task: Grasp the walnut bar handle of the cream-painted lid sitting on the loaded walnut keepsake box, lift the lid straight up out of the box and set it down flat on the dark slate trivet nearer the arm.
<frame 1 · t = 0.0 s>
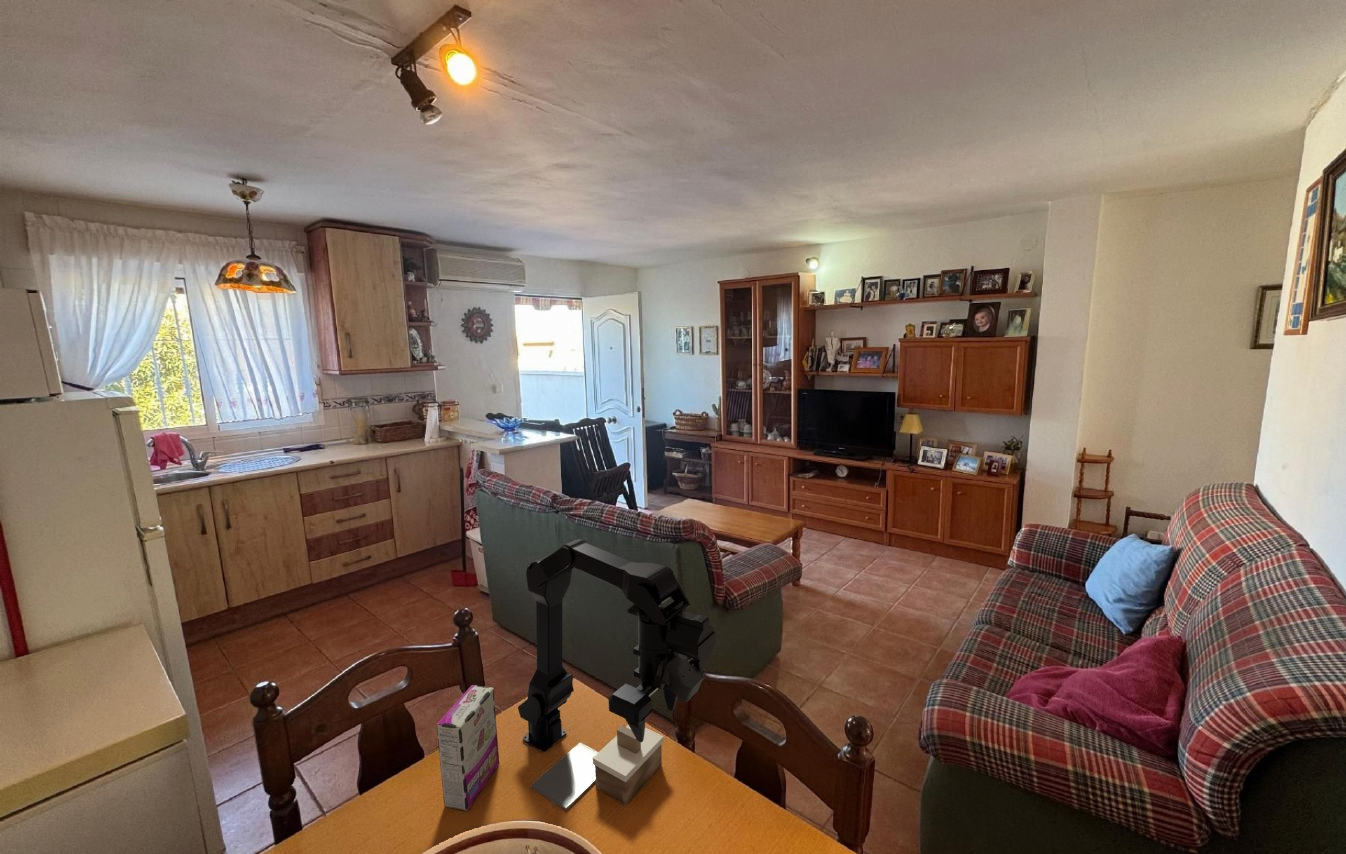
hand: (656, 725, 94), 15 cm above the table, fingers open, 9 cm apart
candy bar box: (472, 786, 99), on the table
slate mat: (573, 775, 101), on the table
keepsake box: (629, 776, 101), on the table
lid: (629, 752, 100), point 5 cm above the table, touching keepsake box
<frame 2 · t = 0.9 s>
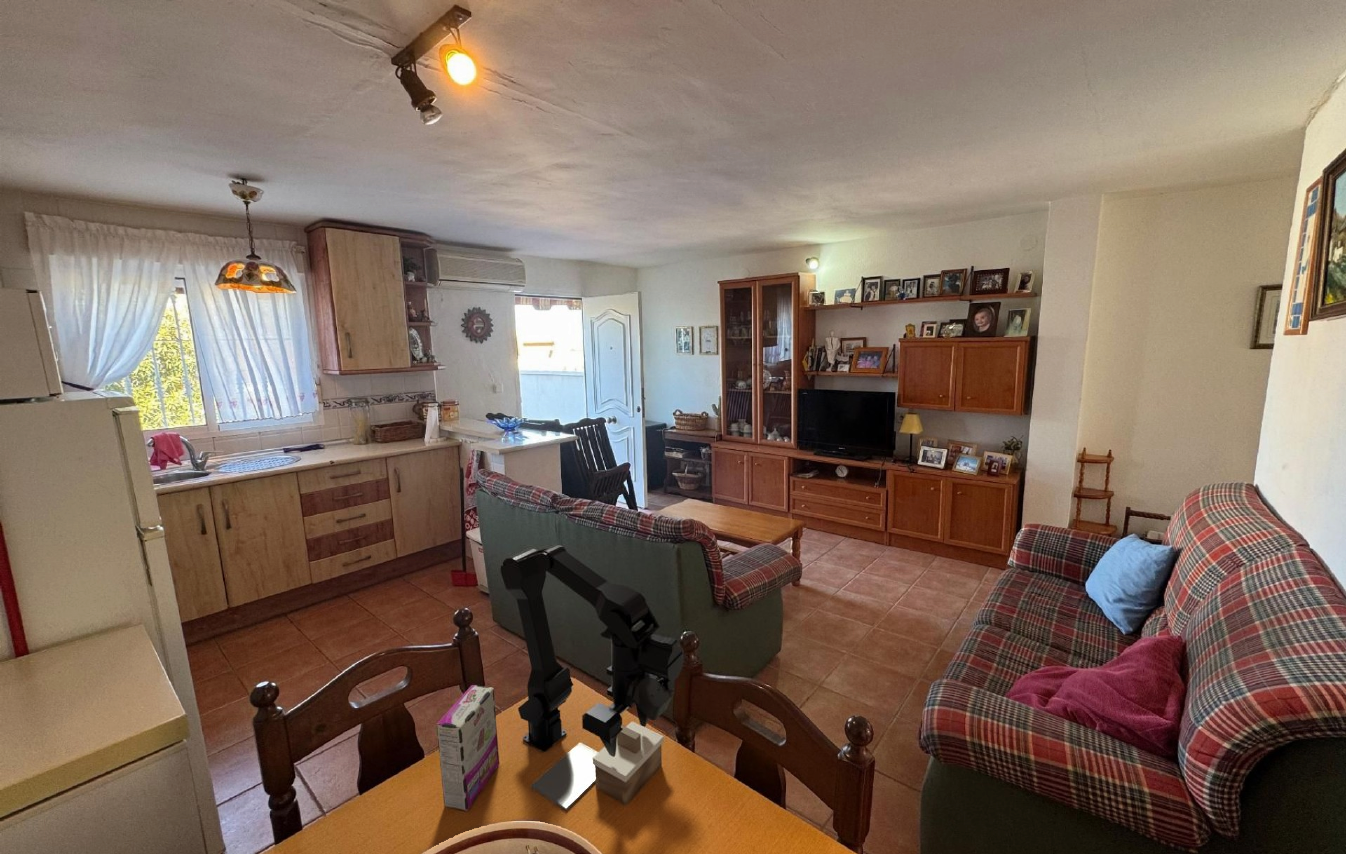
hand: (628, 740, 100), 8 cm above the table, fingers open, 9 cm apart
nothing on the table moved.
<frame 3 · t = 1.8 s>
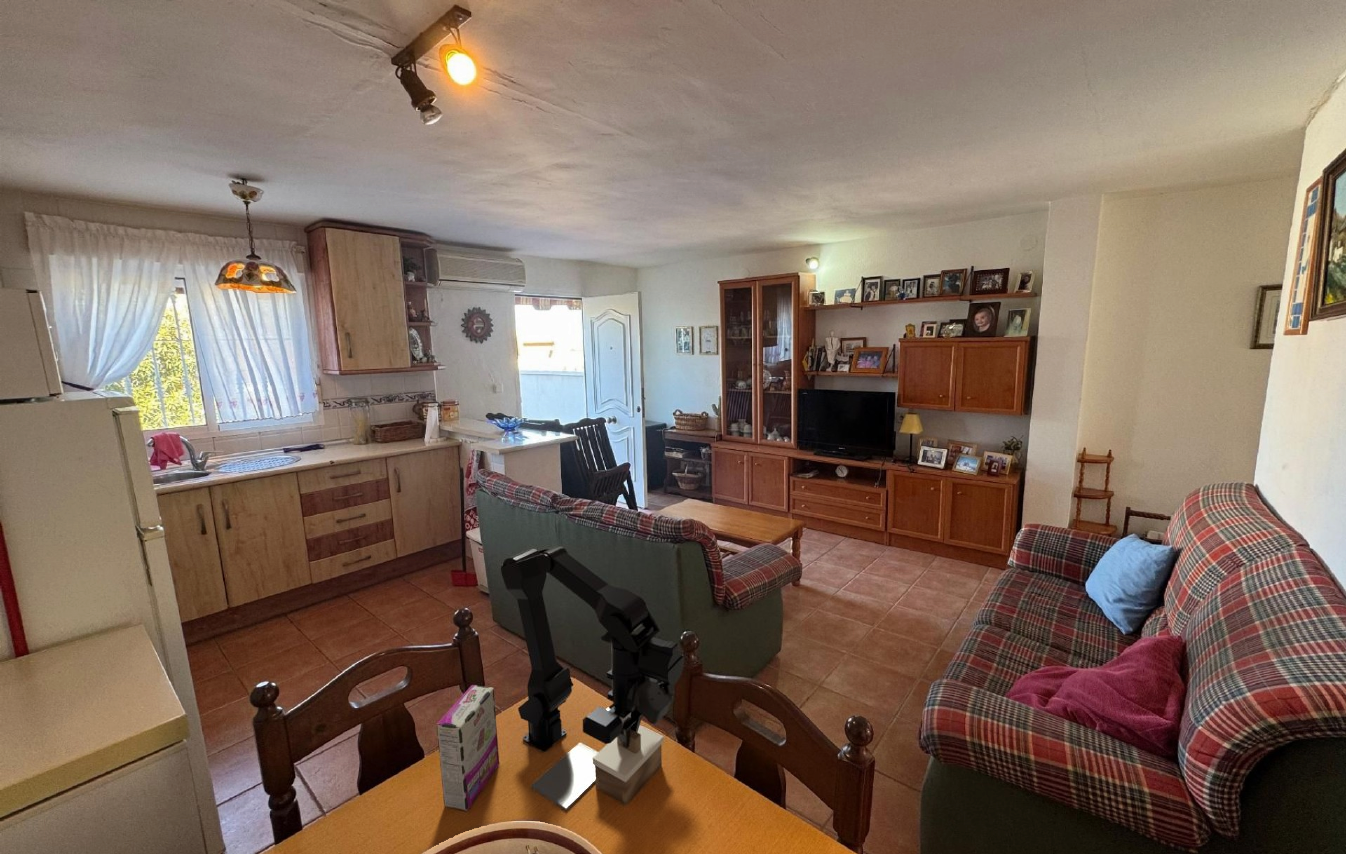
hand: (628, 743, 100), 7 cm above the table, fingers closed on lid
lid: (629, 752, 100), point 5 cm above the table, touching gripper, keepsake box
everything else where it was.
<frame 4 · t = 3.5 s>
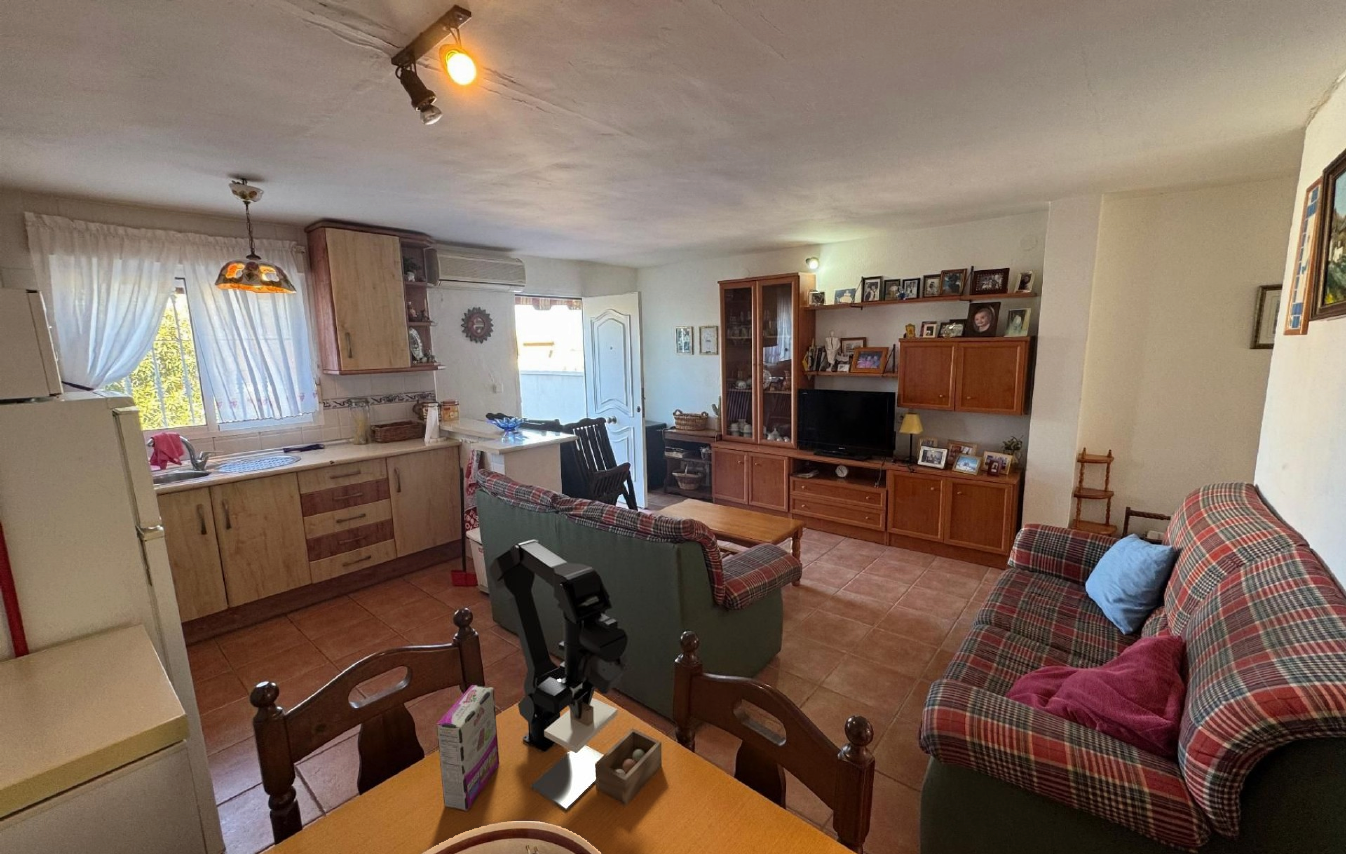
hand: (581, 715, 100), 12 cm above the table, fingers closed on lid
lid: (582, 725, 100), point 10 cm above the table, touching gripper
everything else where it was.
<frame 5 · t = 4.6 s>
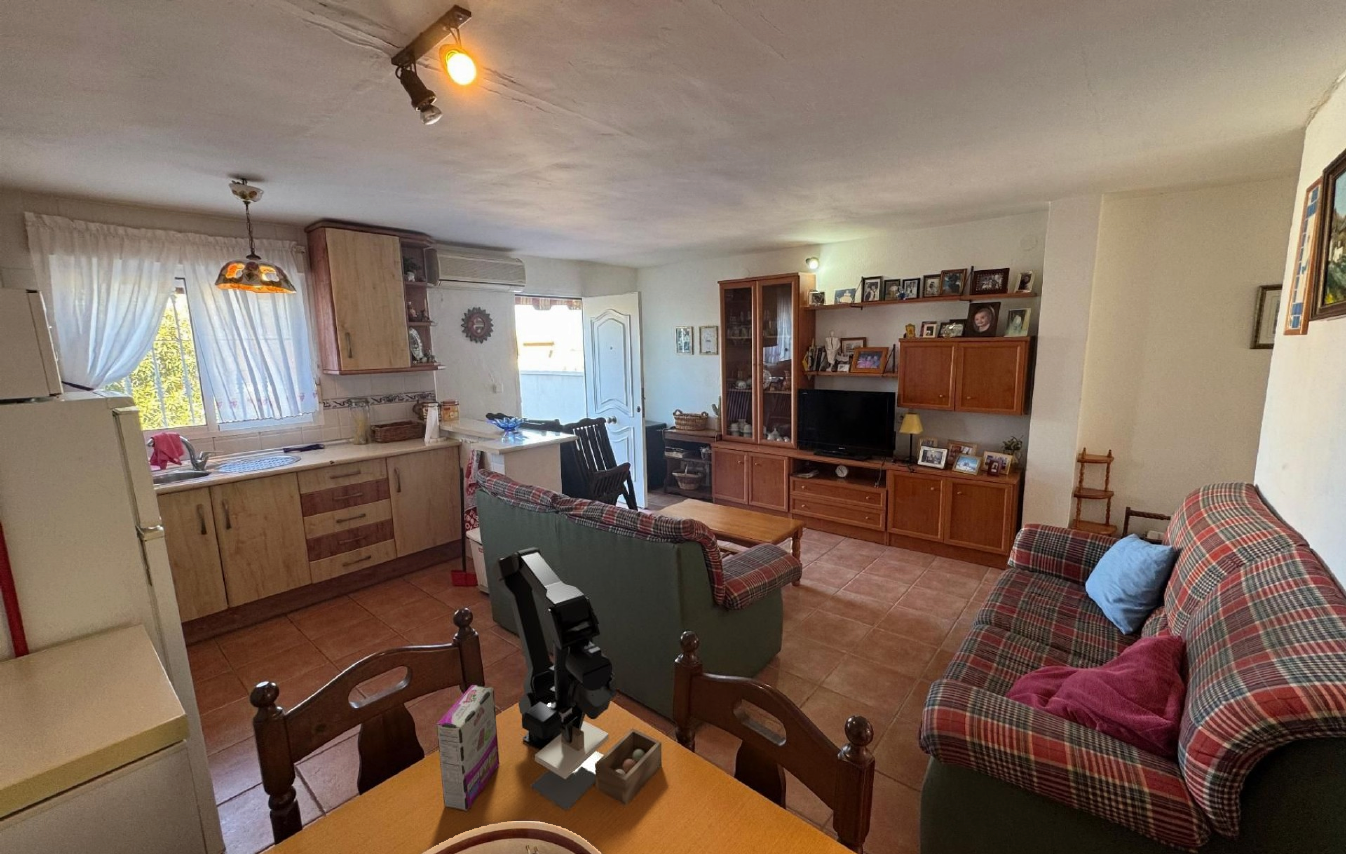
hand: (572, 739, 100), 7 cm above the table, fingers closed on lid
lid: (572, 749, 101), point 5 cm above the table, touching gripper
everything else where it was.
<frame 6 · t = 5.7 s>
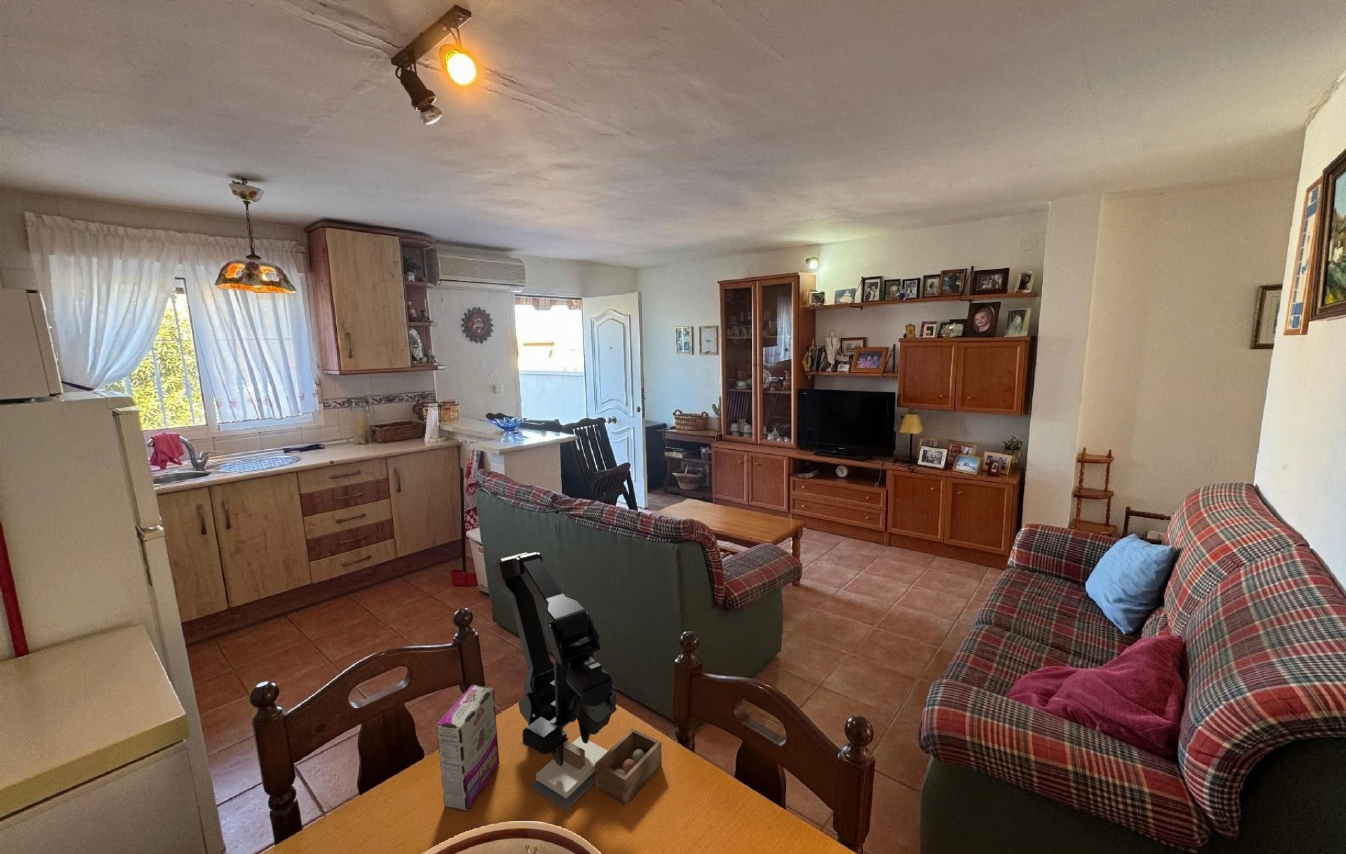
hand: (572, 753, 101), 4 cm above the table, fingers open, 6 cm apart
lid: (573, 768, 101), point 1 cm above the table, touching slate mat
everything else where it was.
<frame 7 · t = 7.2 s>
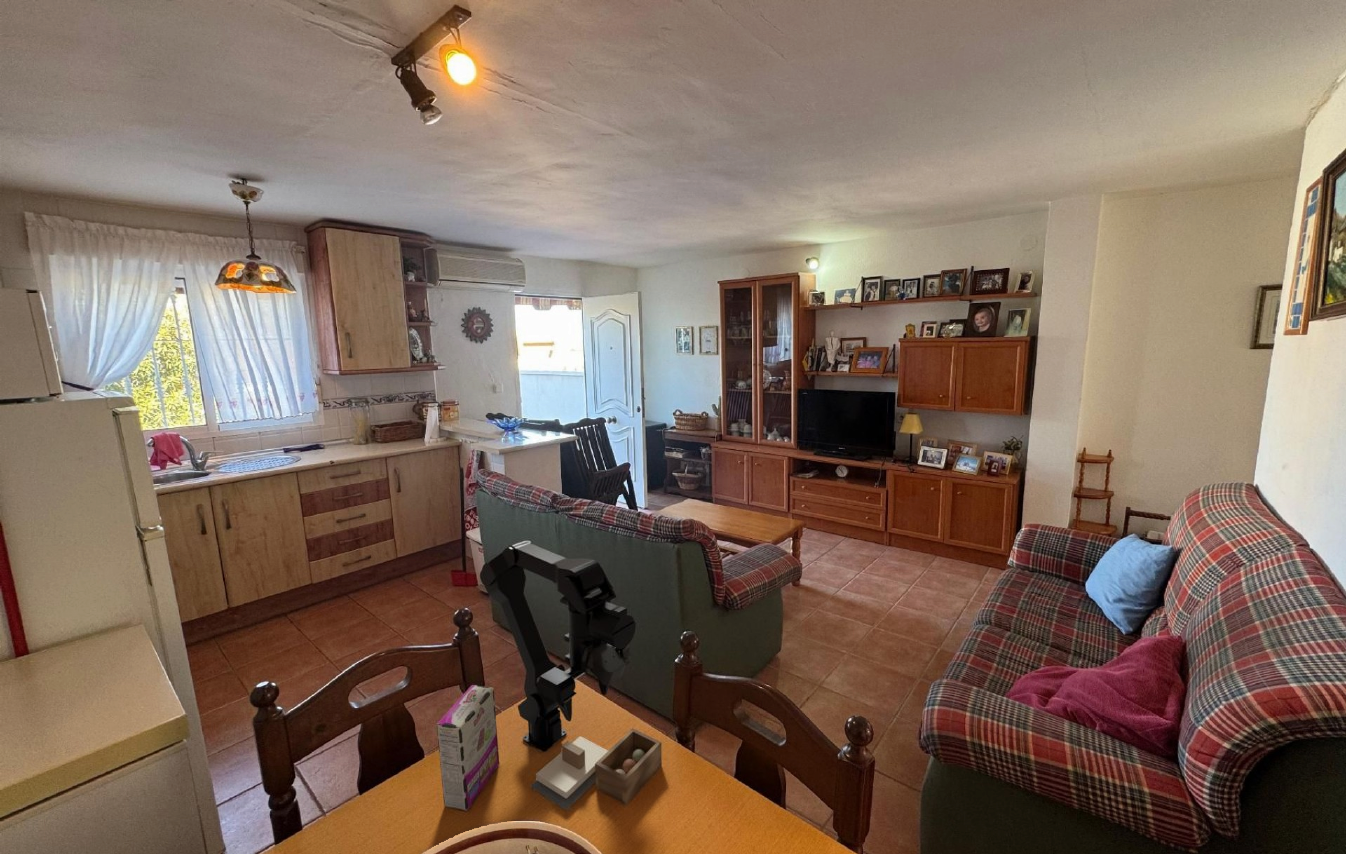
hand: (586, 706, 102), 13 cm above the table, fingers open, 9 cm apart
nothing on the table moved.
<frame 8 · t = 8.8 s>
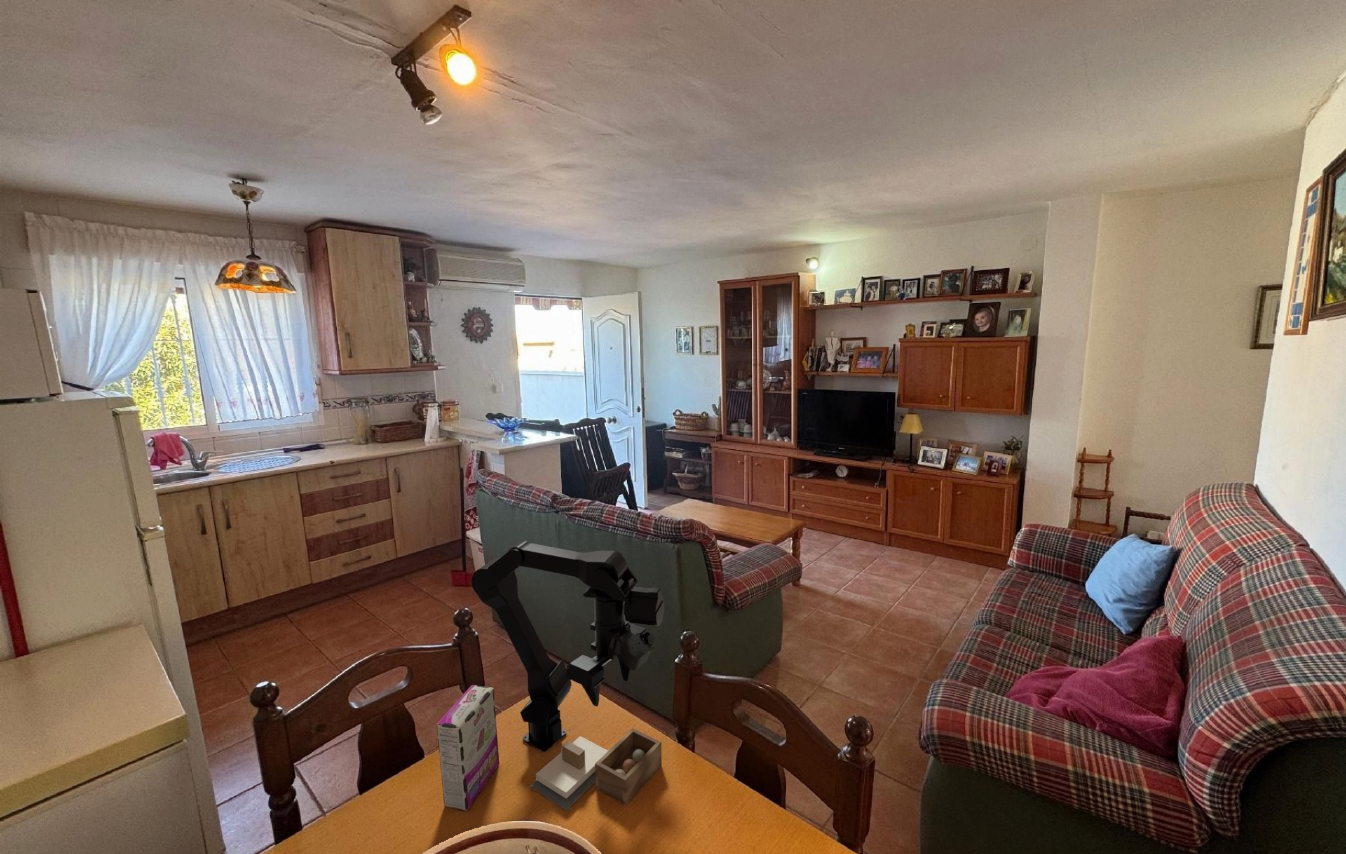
hand: (611, 692, 106), 12 cm above the table, fingers open, 9 cm apart
nothing on the table moved.
at the end: lid inside the target area on the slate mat (0.1 cm from its centre), point 1.5 cm above the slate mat's base; lid tilted 0°; lid touching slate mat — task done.
